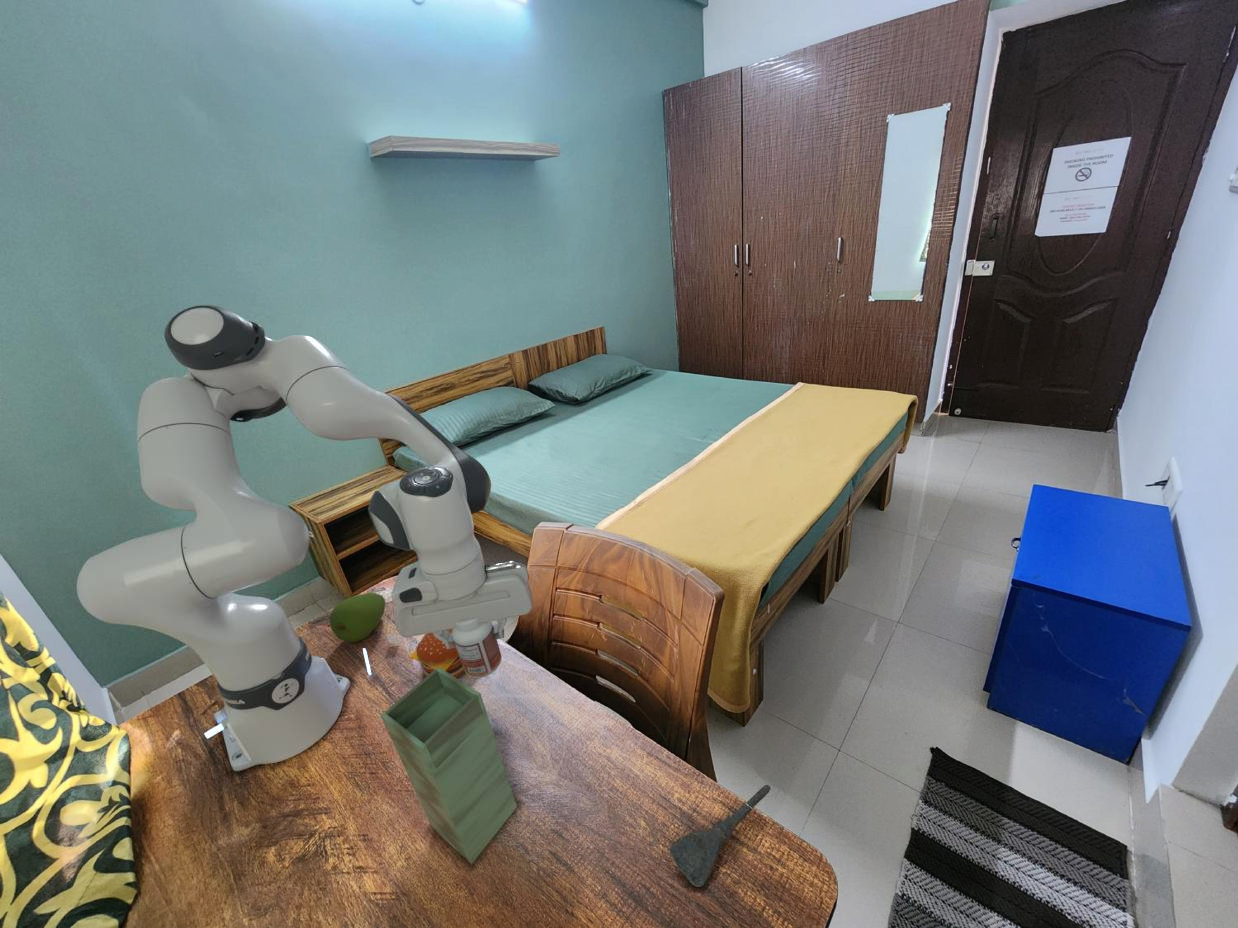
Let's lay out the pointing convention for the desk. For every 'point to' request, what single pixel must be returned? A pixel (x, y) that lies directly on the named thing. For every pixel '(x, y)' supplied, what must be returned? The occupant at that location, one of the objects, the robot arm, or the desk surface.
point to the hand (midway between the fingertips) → (476, 640)
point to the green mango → (357, 616)
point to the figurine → (392, 639)
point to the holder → (452, 761)
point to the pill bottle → (477, 647)
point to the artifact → (709, 843)
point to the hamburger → (437, 656)
